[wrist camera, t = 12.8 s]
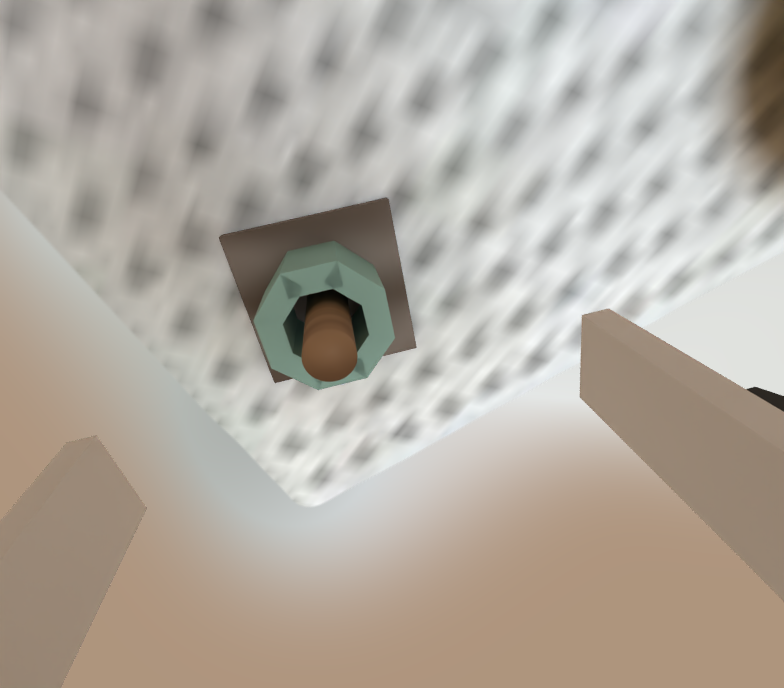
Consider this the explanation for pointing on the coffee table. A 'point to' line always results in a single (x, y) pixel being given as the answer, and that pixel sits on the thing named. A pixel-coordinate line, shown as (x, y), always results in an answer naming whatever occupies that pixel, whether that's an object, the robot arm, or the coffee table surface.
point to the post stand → (326, 308)
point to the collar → (316, 274)
